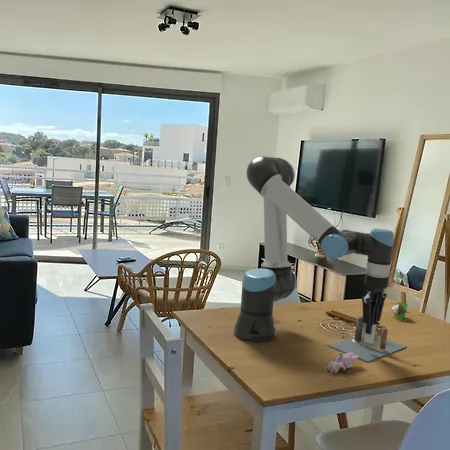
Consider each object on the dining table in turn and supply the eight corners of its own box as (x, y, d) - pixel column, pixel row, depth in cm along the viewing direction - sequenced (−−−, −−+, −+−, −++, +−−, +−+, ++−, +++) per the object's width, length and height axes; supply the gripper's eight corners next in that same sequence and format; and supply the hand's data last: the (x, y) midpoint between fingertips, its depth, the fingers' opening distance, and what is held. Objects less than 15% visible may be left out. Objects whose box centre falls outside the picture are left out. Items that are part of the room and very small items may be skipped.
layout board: (367, 362, 153) (367, 361, 153) (327, 346, 165) (327, 344, 165) (406, 347, 169) (406, 346, 169) (367, 333, 181) (367, 332, 181)
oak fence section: (360, 341, 169) (362, 322, 168) (362, 340, 171) (364, 321, 170) (383, 349, 163) (386, 330, 162) (386, 348, 164) (388, 329, 163)
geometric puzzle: (398, 308, 212) (395, 296, 207) (413, 312, 207) (410, 300, 203) (391, 320, 208) (388, 308, 204) (406, 324, 203) (403, 312, 199)
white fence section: (358, 343, 169) (361, 318, 168) (353, 340, 171) (355, 317, 170) (376, 337, 177) (379, 314, 176) (370, 335, 179) (373, 312, 178)
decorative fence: (375, 335, 182) (388, 330, 189) (375, 330, 182) (388, 326, 188) (322, 316, 201) (335, 313, 207) (322, 312, 200) (336, 309, 207)
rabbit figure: (335, 381, 141) (365, 363, 150) (335, 363, 139) (365, 346, 148) (319, 373, 145) (349, 356, 155) (319, 356, 144) (349, 340, 153)
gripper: (376, 270, 165) (368, 335, 168) (357, 274, 156) (348, 342, 159) (396, 275, 160) (388, 342, 163) (377, 279, 151) (368, 350, 154)
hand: (368, 342), depth 161 cm, fingers closed
